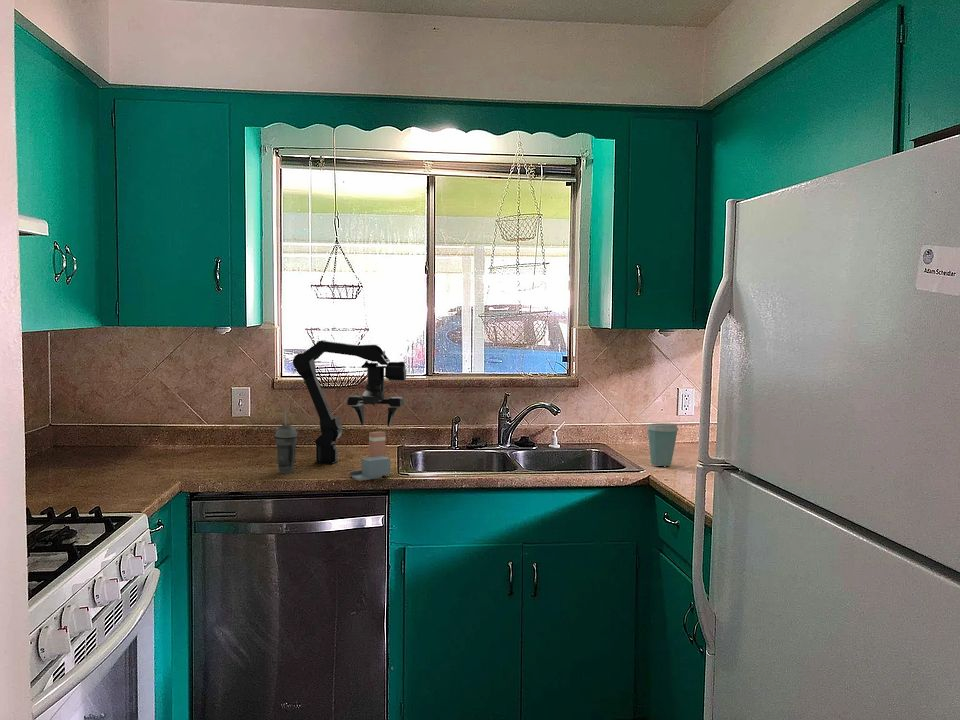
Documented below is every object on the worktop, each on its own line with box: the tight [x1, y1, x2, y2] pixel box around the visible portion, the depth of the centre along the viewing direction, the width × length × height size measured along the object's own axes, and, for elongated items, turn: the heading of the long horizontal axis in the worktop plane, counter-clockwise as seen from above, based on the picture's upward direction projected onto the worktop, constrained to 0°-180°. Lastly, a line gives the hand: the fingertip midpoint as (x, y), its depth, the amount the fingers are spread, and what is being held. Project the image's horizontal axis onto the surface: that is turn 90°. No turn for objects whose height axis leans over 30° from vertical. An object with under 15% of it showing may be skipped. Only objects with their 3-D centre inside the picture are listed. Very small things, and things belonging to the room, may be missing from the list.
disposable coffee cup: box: [646, 422, 679, 467], centre depth 270 cm, size 11×11×15 cm
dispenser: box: [349, 455, 391, 482], centre depth 246 cm, size 6×11×6 cm, turn 126°
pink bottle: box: [368, 430, 387, 458], centre depth 255 cm, size 3×4×13 cm
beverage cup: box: [274, 410, 299, 474], centre depth 252 cm, size 7×7×20 cm
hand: (375, 425), depth 268 cm, fingers open, 9 cm apart
